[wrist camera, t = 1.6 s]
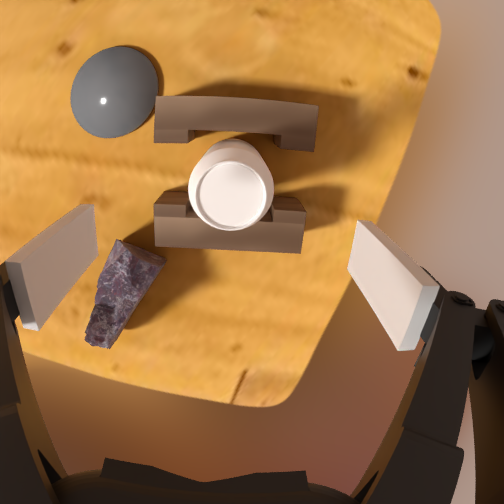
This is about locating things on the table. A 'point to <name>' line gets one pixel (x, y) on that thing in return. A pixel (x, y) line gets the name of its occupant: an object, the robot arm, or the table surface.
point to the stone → (120, 291)
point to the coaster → (114, 92)
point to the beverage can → (231, 186)
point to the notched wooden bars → (239, 120)
